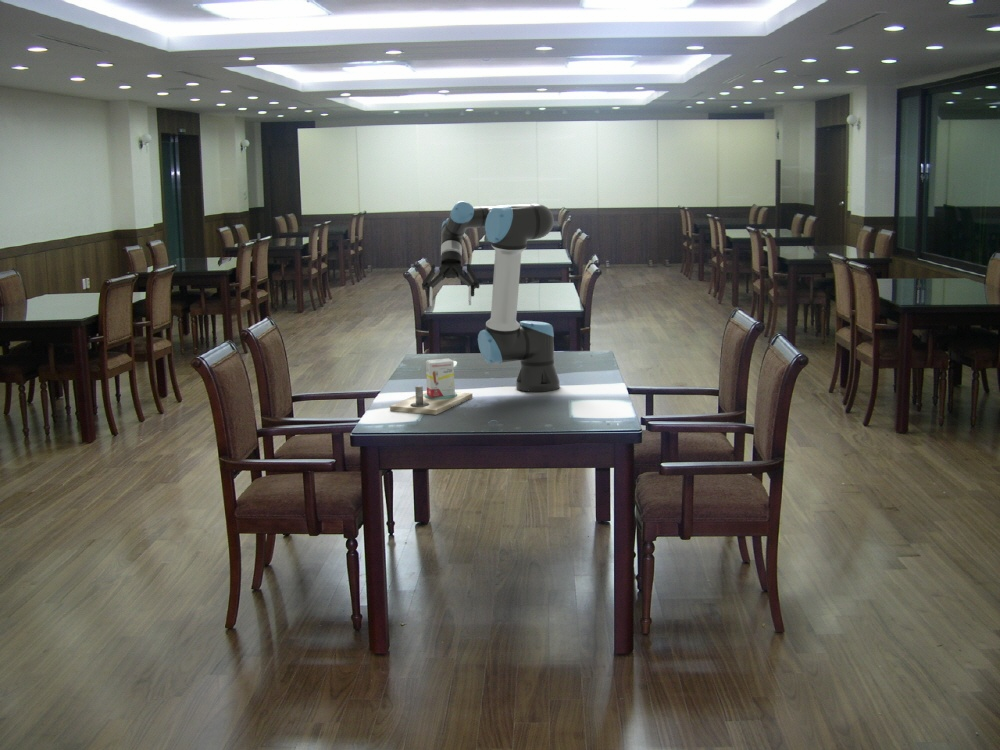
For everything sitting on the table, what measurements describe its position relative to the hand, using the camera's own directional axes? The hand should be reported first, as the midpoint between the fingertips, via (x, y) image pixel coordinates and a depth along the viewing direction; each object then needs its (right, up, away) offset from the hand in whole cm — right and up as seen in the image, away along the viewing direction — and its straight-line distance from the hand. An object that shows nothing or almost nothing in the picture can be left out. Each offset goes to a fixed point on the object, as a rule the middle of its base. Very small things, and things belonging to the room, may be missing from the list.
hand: (450, 303), depth 366 cm
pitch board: (-5, -34, -19) cm, 40 cm away
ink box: (-2, -32, -14) cm, 35 cm away
